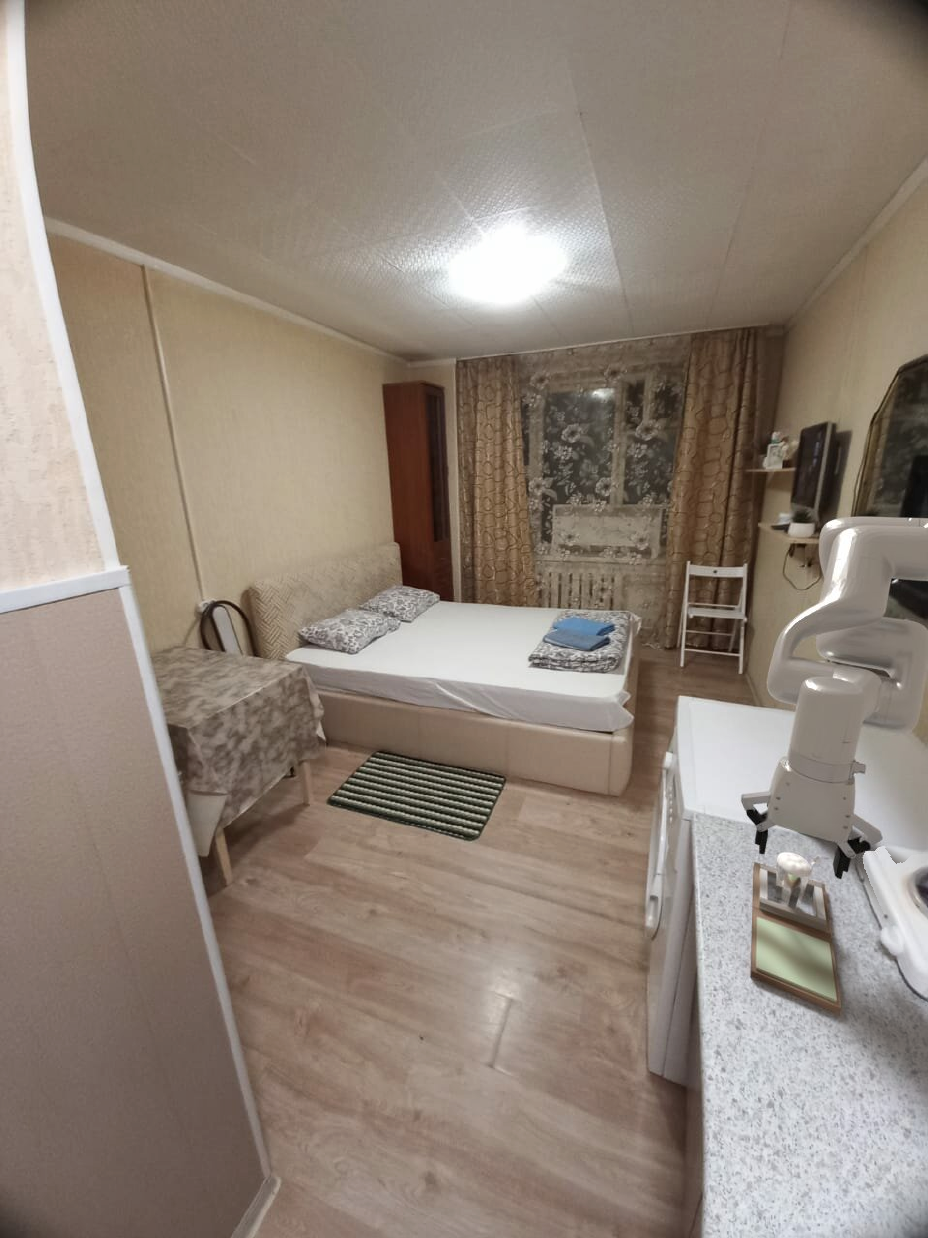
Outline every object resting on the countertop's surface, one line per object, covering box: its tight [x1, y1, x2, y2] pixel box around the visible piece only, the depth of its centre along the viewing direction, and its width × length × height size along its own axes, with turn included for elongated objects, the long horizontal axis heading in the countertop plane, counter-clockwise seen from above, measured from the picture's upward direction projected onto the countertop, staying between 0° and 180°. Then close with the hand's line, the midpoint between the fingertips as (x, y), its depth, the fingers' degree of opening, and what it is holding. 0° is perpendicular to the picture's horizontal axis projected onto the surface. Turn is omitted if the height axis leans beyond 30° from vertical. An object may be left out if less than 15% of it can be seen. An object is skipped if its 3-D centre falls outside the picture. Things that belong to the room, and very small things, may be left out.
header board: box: [749, 861, 843, 1016], centre depth 73 cm, size 22×10×2 cm, turn 149°
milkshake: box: [773, 851, 820, 910], centre depth 76 cm, size 4×5×10 cm
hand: (798, 860), depth 74 cm, fingers open, 9 cm apart
